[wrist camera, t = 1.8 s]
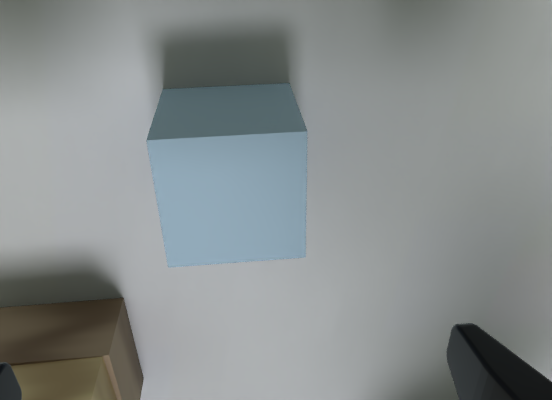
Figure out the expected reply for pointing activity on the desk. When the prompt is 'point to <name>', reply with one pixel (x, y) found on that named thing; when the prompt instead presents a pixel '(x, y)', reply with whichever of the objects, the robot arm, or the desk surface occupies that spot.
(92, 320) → the tower base
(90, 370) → the tower top
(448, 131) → the desk surface
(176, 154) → the cube
